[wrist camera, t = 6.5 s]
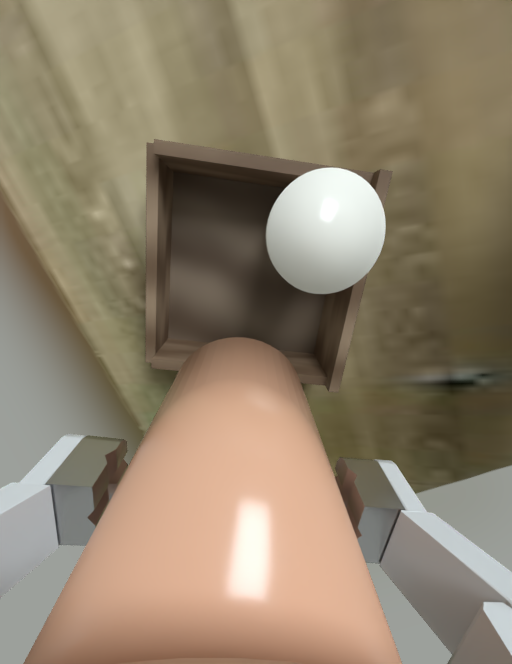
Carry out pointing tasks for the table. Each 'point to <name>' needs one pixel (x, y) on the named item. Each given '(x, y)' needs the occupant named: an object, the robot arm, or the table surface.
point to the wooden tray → (234, 263)
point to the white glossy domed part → (325, 230)
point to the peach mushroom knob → (223, 536)
